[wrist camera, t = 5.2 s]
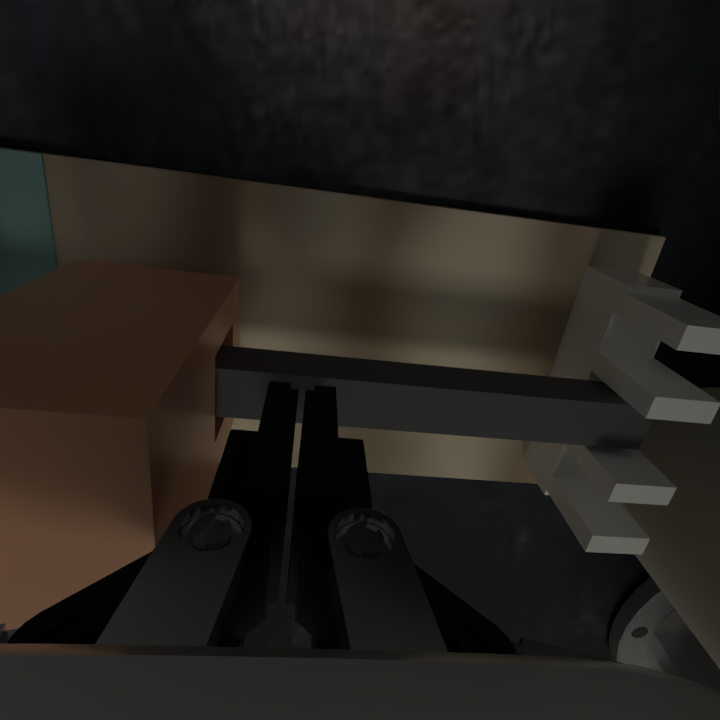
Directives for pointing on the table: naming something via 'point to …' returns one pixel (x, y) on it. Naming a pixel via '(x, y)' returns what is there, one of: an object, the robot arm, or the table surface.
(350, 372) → the dark grey bar
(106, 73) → the table surface
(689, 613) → the travel mug
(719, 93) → the yellow peg figure
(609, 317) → the cable comb
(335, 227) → the board
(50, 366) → the brown rectangular block
